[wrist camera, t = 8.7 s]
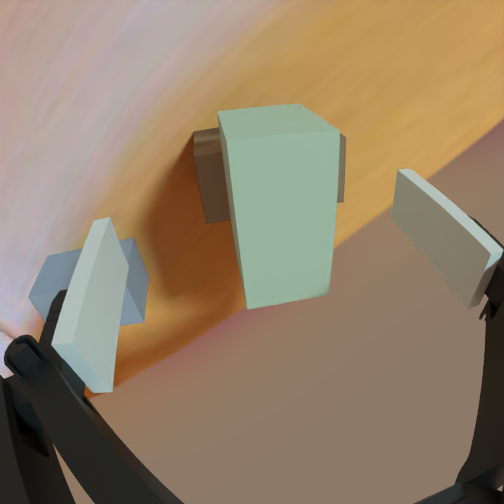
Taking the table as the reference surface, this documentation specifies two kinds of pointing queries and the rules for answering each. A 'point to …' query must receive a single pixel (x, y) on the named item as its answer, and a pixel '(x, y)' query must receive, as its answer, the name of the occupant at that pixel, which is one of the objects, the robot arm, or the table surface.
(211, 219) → the walnut block
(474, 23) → the table surface
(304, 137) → the sage block
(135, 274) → the slate block
